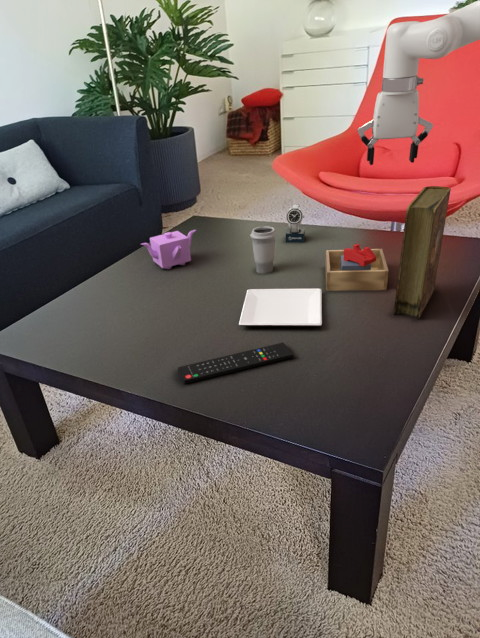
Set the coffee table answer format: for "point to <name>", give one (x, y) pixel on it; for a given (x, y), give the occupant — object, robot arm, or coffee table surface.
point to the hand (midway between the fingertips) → (391, 162)
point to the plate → (282, 307)
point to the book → (421, 250)
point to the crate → (355, 273)
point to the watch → (295, 225)
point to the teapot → (170, 249)
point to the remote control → (233, 362)
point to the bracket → (359, 255)
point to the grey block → (352, 265)
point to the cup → (263, 248)
